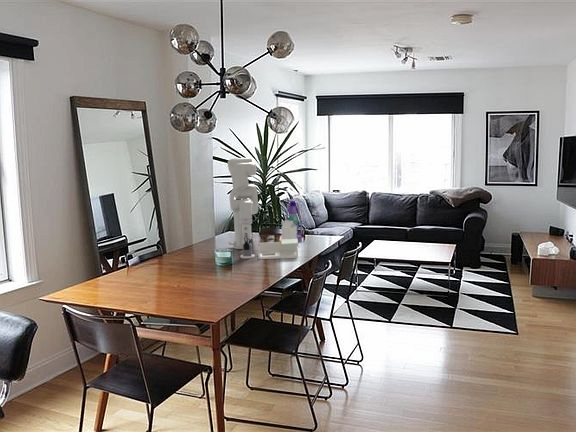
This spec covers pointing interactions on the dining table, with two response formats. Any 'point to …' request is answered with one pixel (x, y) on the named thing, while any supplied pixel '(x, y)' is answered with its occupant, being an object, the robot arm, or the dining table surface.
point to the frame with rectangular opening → (276, 251)
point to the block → (247, 252)
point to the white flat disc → (247, 256)
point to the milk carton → (289, 230)
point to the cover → (288, 242)
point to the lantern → (294, 217)
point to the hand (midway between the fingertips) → (247, 248)
